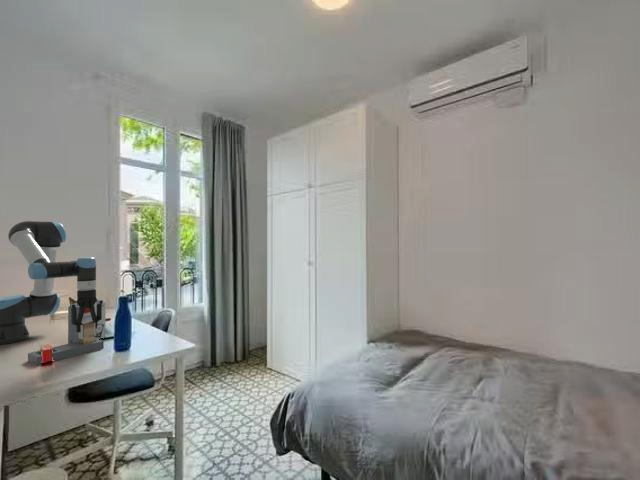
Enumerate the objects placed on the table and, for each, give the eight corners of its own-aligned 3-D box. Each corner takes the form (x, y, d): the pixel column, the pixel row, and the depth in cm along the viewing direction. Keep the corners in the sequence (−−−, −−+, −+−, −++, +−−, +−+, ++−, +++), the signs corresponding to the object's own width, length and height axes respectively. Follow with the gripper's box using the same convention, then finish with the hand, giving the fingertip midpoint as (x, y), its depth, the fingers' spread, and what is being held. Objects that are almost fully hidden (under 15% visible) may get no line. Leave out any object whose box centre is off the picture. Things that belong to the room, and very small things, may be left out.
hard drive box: (79, 346, 163) (79, 306, 163) (67, 345, 164) (66, 306, 164) (106, 337, 178) (105, 301, 178) (94, 336, 180) (94, 300, 180)
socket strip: (27, 361, 144) (27, 352, 144) (93, 344, 166) (93, 337, 166) (36, 365, 138) (36, 356, 138) (103, 348, 160) (103, 340, 160)
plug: (79, 349, 158) (79, 322, 158) (90, 346, 162) (90, 320, 162) (84, 350, 156) (83, 323, 156) (94, 348, 160) (94, 321, 160)
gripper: (68, 292, 149) (69, 343, 149) (110, 287, 164) (110, 333, 164) (61, 291, 153) (62, 340, 153) (102, 286, 168) (102, 331, 168)
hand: (87, 337), depth 159 cm, fingers closed on plug, 5 cm apart
